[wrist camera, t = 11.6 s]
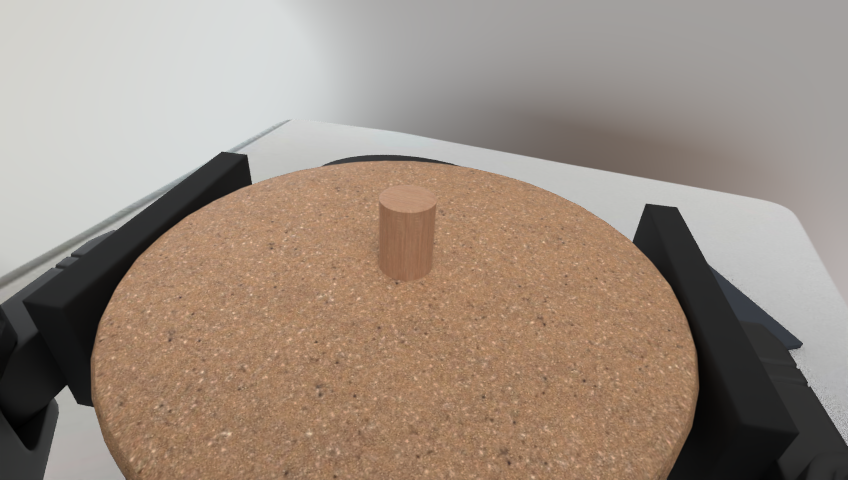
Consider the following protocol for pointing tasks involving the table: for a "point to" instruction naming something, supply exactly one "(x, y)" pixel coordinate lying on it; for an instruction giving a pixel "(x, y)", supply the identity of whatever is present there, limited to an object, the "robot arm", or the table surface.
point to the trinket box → (394, 337)
